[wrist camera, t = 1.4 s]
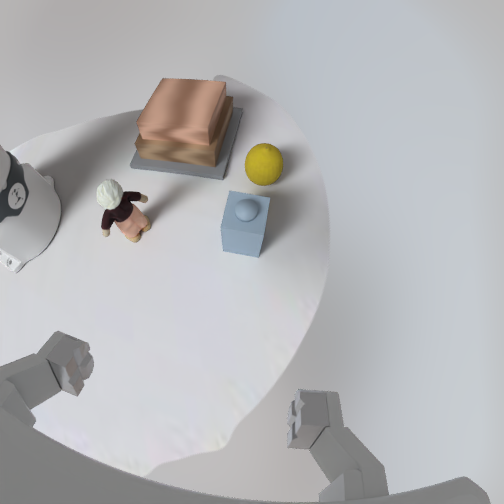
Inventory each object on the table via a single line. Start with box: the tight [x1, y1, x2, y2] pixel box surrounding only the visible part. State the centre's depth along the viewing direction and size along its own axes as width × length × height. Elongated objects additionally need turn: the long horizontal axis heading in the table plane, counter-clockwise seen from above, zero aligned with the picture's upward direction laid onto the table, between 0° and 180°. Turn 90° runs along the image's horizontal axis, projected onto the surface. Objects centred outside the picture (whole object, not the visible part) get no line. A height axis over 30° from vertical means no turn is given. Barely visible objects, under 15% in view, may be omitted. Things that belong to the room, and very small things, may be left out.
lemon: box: [245, 143, 283, 186], centre depth 41 cm, size 6×6×8 cm
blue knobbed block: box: [221, 191, 270, 257], centre depth 37 cm, size 5×5×9 cm
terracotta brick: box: [135, 78, 233, 167], centre depth 43 cm, size 13×13×8 cm
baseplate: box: [130, 108, 242, 180], centre depth 47 cm, size 16×16×1 cm
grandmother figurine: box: [96, 179, 151, 242], centre depth 35 cm, size 8×4×13 cm, turn 149°
